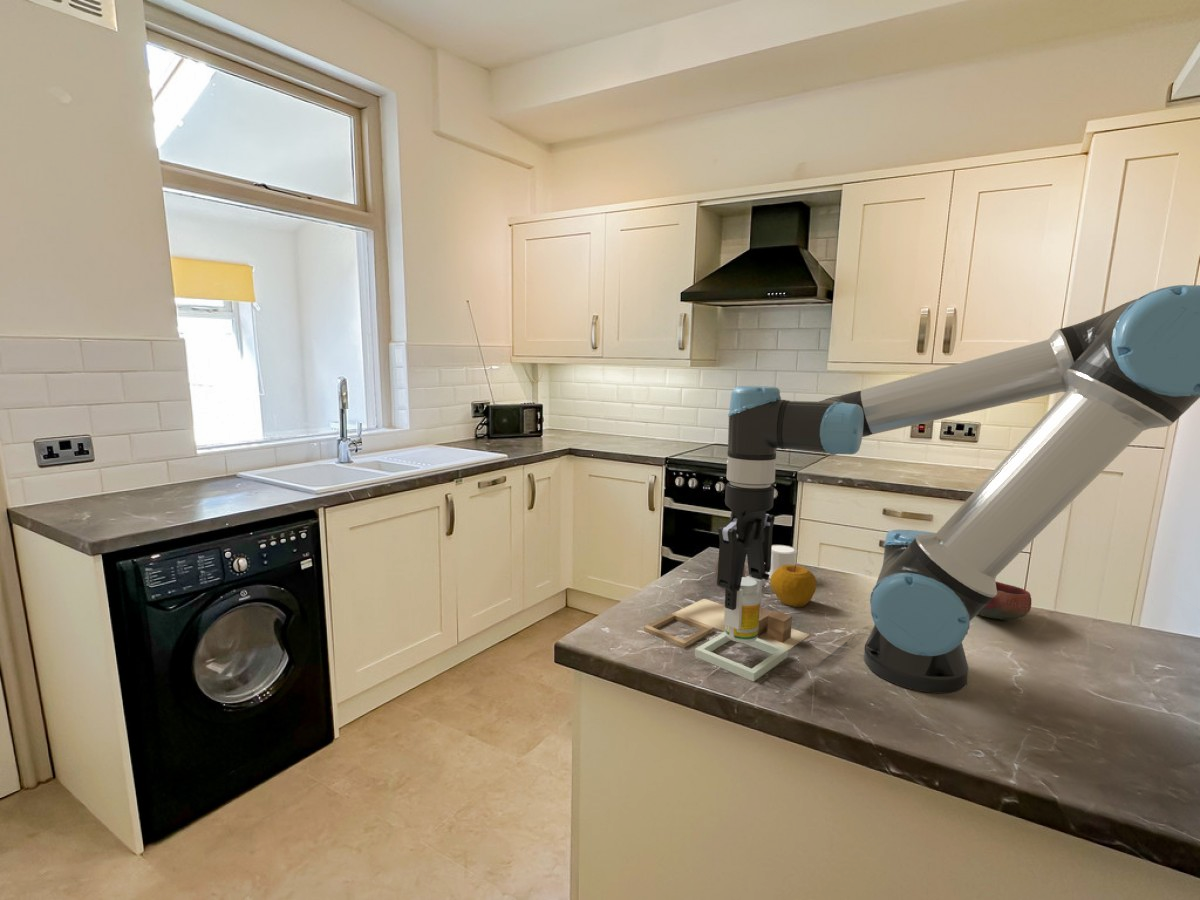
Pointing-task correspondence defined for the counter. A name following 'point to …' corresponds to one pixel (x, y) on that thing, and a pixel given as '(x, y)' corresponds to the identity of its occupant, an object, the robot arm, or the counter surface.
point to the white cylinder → (781, 557)
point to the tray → (741, 670)
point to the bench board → (775, 634)
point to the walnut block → (763, 621)
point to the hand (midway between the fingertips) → (742, 620)
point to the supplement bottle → (747, 614)
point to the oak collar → (672, 639)
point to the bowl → (1008, 603)
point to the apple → (793, 585)
